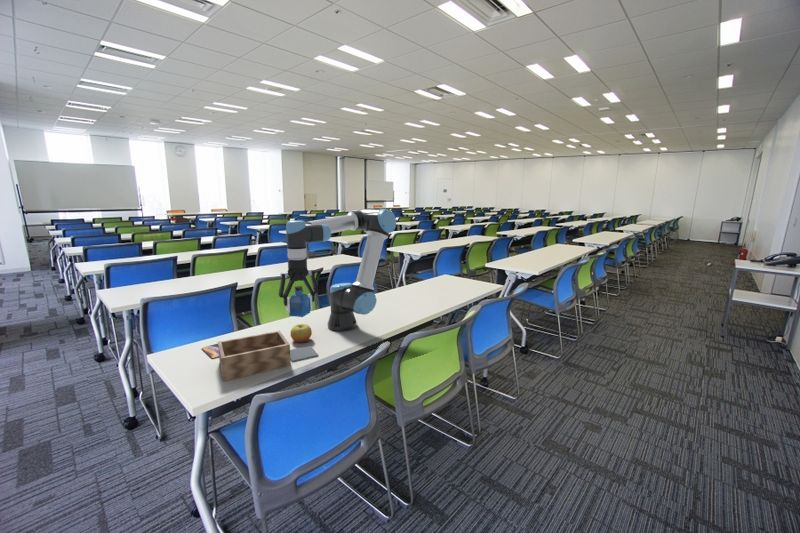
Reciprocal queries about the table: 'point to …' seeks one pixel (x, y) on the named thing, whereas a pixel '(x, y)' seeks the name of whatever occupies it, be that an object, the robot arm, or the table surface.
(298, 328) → the apple
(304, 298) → the perfume bottle
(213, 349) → the smartphone
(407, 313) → the table surface
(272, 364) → the crate
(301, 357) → the slate mat
